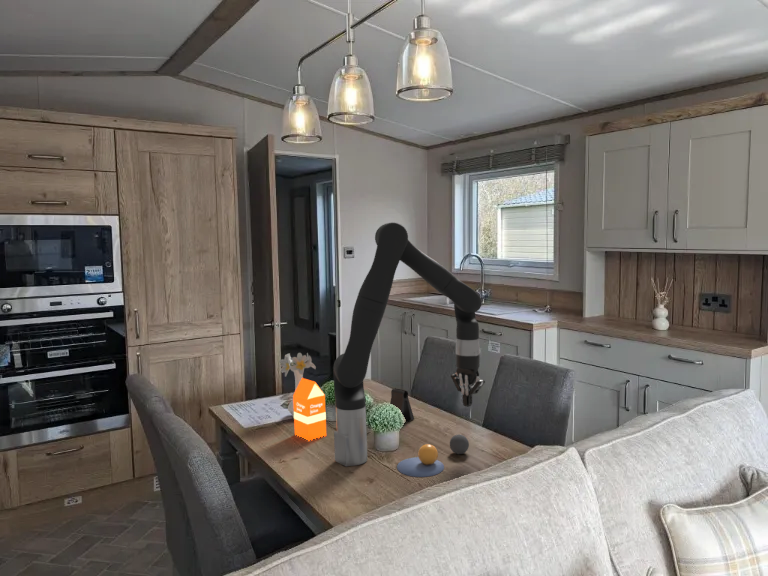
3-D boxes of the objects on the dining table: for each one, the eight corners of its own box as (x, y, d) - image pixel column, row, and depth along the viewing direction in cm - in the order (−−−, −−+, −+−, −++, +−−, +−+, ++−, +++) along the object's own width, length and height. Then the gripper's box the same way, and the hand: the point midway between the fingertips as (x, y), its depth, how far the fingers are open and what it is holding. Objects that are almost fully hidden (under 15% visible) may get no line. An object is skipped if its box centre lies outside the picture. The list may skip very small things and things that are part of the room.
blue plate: (419, 481, 156) (419, 480, 156) (387, 466, 167) (387, 465, 167) (453, 467, 165) (453, 466, 165) (421, 454, 176) (421, 453, 176)
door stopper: (397, 425, 203) (397, 393, 202) (386, 422, 208) (385, 390, 206) (414, 419, 210) (413, 388, 209) (402, 416, 214) (401, 385, 213)
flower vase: (298, 407, 229) (295, 347, 227) (326, 416, 216) (324, 353, 214) (271, 414, 220) (268, 352, 218) (298, 425, 207) (296, 359, 204)
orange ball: (445, 455, 168) (434, 471, 166) (431, 449, 173) (420, 465, 170) (435, 443, 166) (424, 459, 163) (422, 437, 170) (410, 453, 168)
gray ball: (475, 443, 176) (465, 460, 174) (460, 436, 181) (450, 452, 179) (467, 435, 173) (458, 452, 171) (452, 428, 177) (443, 444, 175)
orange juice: (308, 441, 190) (305, 384, 188) (294, 435, 197) (291, 379, 195) (327, 435, 195) (324, 379, 193) (312, 429, 202) (310, 375, 200)
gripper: (444, 351, 179) (444, 403, 181) (475, 357, 169) (475, 413, 171) (460, 348, 184) (460, 399, 186) (491, 354, 174) (491, 408, 175)
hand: (467, 405), depth 178 cm, fingers closed
